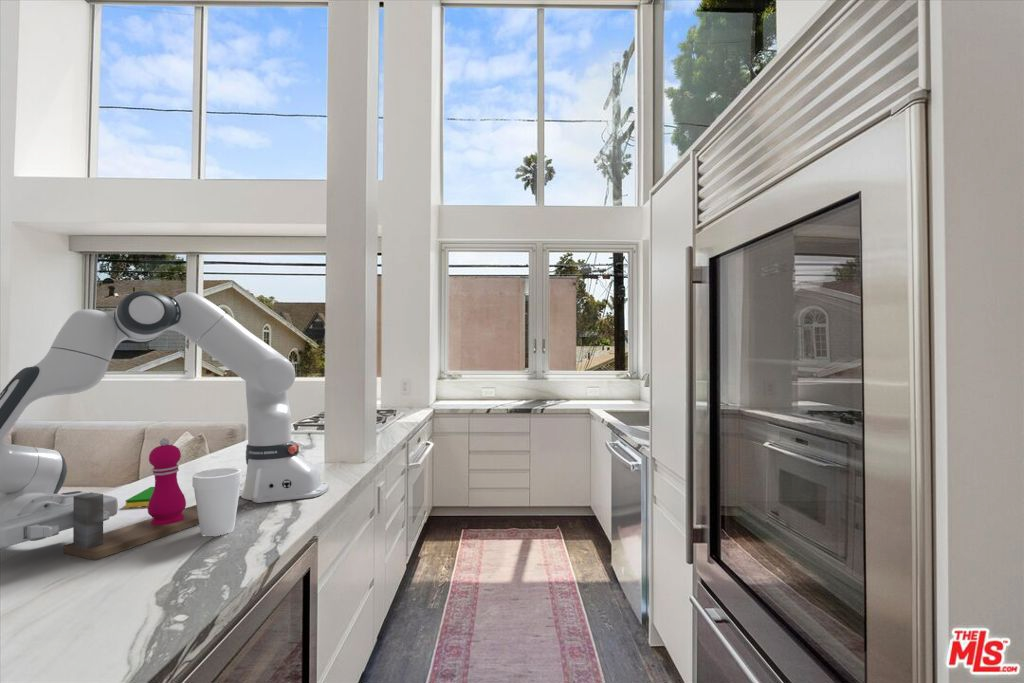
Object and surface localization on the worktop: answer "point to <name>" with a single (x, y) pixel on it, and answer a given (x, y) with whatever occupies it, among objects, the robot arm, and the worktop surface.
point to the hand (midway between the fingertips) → (81, 523)
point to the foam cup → (217, 499)
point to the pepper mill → (166, 485)
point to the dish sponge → (140, 498)
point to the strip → (99, 544)
